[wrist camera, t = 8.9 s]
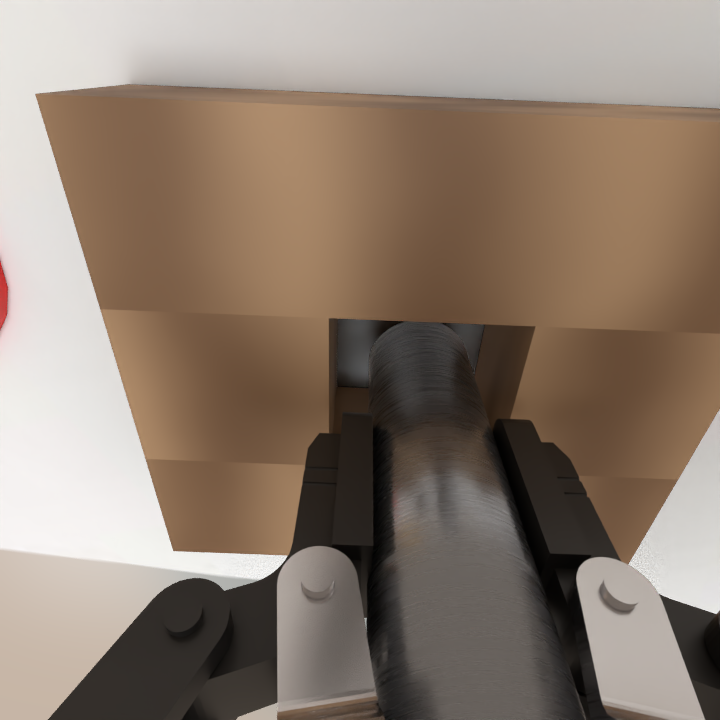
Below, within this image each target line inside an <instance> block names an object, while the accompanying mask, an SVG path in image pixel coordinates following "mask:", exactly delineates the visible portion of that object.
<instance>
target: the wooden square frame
mask: <svg viewBox="0 0 720 720" xmlns="http://www.w3.org/2000/svg"><path fill="white" fill-rule="evenodd" d="M36 98H37V101H38V104H39V108H40V111H41V114H42V118H43V121H44V124H45V128H46V131H47V134H48V137H49V141H50V144H51V147H52V151H53V154H54V157H55V161H56V164H57V167H58V171H59V174H60V177H61V180H62V184H63V187H64V190H65V194H66V197H67V200H68V204H69V207H70V210H71V214H72V217H73V220H74V224H75V227H76V230H77V233H78V237H79V240H80V243H81V247H82V250H83V253H84V257H85V260H86V263H87V267H88V270H89V273H90V276H91V280H92V283H93V286H94V290H95V293H96V296H97V300H98V303H99V306H100V310H101V313H102V316H103V319H104V323H105V326H106V329H107V333H108V336H109V339H110V343H111V346H112V349H113V353H114V356H115V359H116V363H117V366H118V369H119V372H120V376H121V379H122V382H123V386H124V389H125V392H126V396H127V399H128V402H129V406H130V409H131V412H132V415H133V419H134V422H135V425H136V429H137V432H138V435H139V439H140V442H141V445H142V449H143V452H144V455H145V458H146V462H147V465H148V468H149V472H150V475H151V478H152V482H153V485H154V488H155V492H156V495H157V498H158V502H159V505H160V508H161V511H162V515H163V518H164V521H165V525H166V528H167V531H168V535H169V538H170V541H171V545H172V548H173V551H187V552H213V553H240V554H266V555H289V552H290V550H291V547H292V543H293V537H294V531H295V525H296V518H297V512H298V506H299V500H300V494H301V488H302V481H303V475H304V470H305V463H306V457H307V451H308V447H309V446H310V445H311V443H312V442H313V441H314V439H315V438H316V437H317V435H318V434H319V433H334V434H341V424H342V413H343V412H356V413H368V402H369V388H351V387H337V347H338V319H361V320H386V321H411V322H436V323H461V324H485V328H484V332H483V337H482V342H481V347H480V352H479V357H478V361H477V366H476V371H475V376H474V377H475V380H476V383H477V386H478V389H479V392H480V395H481V398H482V401H483V404H484V407H485V410H486V413H487V417H488V420H489V423H490V426H491V429H492V431H493V427H494V424H495V421H496V420H497V419H499V418H500V419H525V420H531V421H532V423H533V424H534V426H535V429H536V431H537V433H538V435H539V438H540V440H541V442H553V443H554V444H555V445H556V446H557V447H558V448H559V449H560V450H561V451H562V452H563V453H564V454H566V455H567V456H568V457H569V458H570V460H571V462H572V464H573V466H574V468H575V470H576V472H577V474H578V476H579V481H581V482H582V484H583V486H584V488H585V490H586V492H587V497H589V498H590V500H591V502H592V504H593V506H594V508H595V510H596V512H597V514H598V516H599V518H600V520H601V522H602V524H603V526H604V528H605V530H606V532H607V534H608V536H609V538H610V540H611V542H612V544H613V546H614V548H615V550H616V552H617V554H618V556H619V558H620V560H621V561H622V562H624V563H626V564H629V562H630V560H631V559H632V557H633V555H634V554H635V552H636V550H637V549H638V547H639V545H640V543H641V542H642V540H643V538H644V537H645V535H646V533H647V532H648V530H649V528H650V526H651V525H652V523H653V521H654V520H655V518H656V516H657V514H658V513H659V511H660V509H661V508H662V506H663V504H664V503H665V501H666V499H667V497H668V496H669V494H670V492H671V491H672V489H673V487H674V486H675V484H676V482H677V480H678V479H679V477H680V475H681V474H682V472H683V470H684V469H685V467H686V465H687V463H688V462H689V460H690V458H691V457H692V455H693V453H694V451H695V450H696V448H697V446H698V445H699V443H700V441H701V440H702V438H703V436H704V434H705V433H706V431H707V429H708V428H709V426H710V424H711V423H712V421H713V419H714V417H715V416H716V414H717V412H718V411H719V409H720V109H713V108H689V107H665V106H640V105H616V104H592V103H567V102H543V101H519V100H495V99H470V98H446V97H422V96H397V95H373V94H349V93H324V92H300V91H276V90H252V89H227V88H203V87H179V86H154V85H130V84H128V85H118V86H109V87H99V88H89V89H79V90H70V91H60V92H50V93H40V94H36Z"/></svg>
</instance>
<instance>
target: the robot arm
mask: <svg viewBox="0 0 720 720" xmlns="http://www.w3.org/2000/svg"><path fill="white" fill-rule="evenodd" d="M492 432H493V435H494V438H495V441H496V444H497V447H498V450H499V453H500V456H501V459H502V462H503V466H504V469H505V472H506V475H507V478H508V481H509V484H510V487H511V490H512V493H513V496H514V499H515V502H516V505H517V508H518V512H519V515H520V518H521V521H522V524H523V527H524V530H525V533H526V536H527V539H528V542H529V545H530V548H531V551H532V554H533V558H534V561H535V564H536V567H537V570H538V573H539V576H540V579H541V582H542V585H543V588H544V591H545V594H546V597H547V600H548V603H549V607H550V610H551V613H552V616H553V619H554V622H555V625H556V628H557V631H558V634H559V637H560V640H561V643H562V646H563V649H564V653H565V656H566V659H567V662H568V665H569V668H570V671H571V674H572V677H573V680H574V683H575V686H576V689H577V692H578V695H579V698H580V702H581V705H582V708H583V711H584V714H585V717H586V720H720V611H719V612H718V613H717V614H714V613H711V612H708V611H705V610H702V609H699V608H696V607H693V606H690V605H687V604H684V603H681V602H678V601H675V600H672V599H669V598H667V597H664V596H662V595H660V594H658V592H657V591H656V589H655V587H654V586H653V585H652V584H651V583H650V581H649V580H648V579H647V578H646V577H645V576H644V575H642V574H641V573H640V572H639V571H637V570H636V569H634V568H633V567H631V566H629V565H628V564H626V563H624V562H622V561H621V560H620V558H619V556H618V554H617V552H616V550H615V548H614V546H613V544H612V542H611V540H610V538H609V536H608V534H607V532H606V530H605V528H604V526H603V524H602V522H601V520H600V518H599V516H598V514H597V512H596V510H595V508H594V506H593V504H592V502H591V500H590V498H589V497H587V492H586V490H585V488H584V486H583V484H582V482H581V481H579V476H578V474H577V472H576V470H575V468H574V466H573V464H572V462H571V460H570V458H569V457H568V456H567V455H566V454H564V453H563V452H562V451H561V450H560V449H559V448H558V447H557V446H556V445H555V444H554V443H553V442H541V440H540V438H539V435H538V433H537V431H536V429H535V426H534V424H533V423H532V421H531V420H525V419H500V418H499V419H497V420H496V421H495V424H494V427H493V431H492ZM372 558H373V413H356V412H343V413H342V424H341V434H334V433H319V434H318V435H317V437H316V438H315V439H314V441H313V442H312V443H311V445H310V446H309V447H308V451H307V457H306V463H305V470H304V475H303V481H302V488H301V494H300V500H299V506H298V512H297V518H296V525H295V531H294V537H293V543H292V547H291V550H290V552H289V555H288V557H287V558H286V560H285V561H284V562H283V564H282V565H281V566H280V567H279V568H278V569H277V570H276V571H275V572H273V573H272V574H270V575H269V576H267V577H266V578H264V579H262V580H259V581H257V582H254V583H250V584H247V585H243V586H240V587H237V588H233V589H229V590H226V591H224V590H223V589H222V588H221V587H220V586H219V585H217V584H216V583H214V582H212V581H210V580H207V579H201V578H192V579H186V580H182V581H179V582H177V583H174V584H172V585H171V586H169V587H167V588H165V589H164V590H163V591H162V592H160V593H159V594H158V595H157V596H156V597H155V598H154V599H153V600H152V601H151V602H150V603H149V604H148V606H147V607H146V608H145V609H144V610H143V611H142V612H141V614H140V615H139V616H138V617H137V618H136V619H135V620H134V622H133V623H132V624H131V625H130V626H129V627H128V628H127V630H126V631H125V632H124V633H123V634H122V635H121V636H120V638H119V639H118V640H117V641H116V642H115V643H114V644H113V646H112V647H111V648H110V649H109V650H108V651H107V653H106V654H105V655H104V656H103V657H102V658H101V659H100V661H99V662H98V663H97V664H96V665H95V666H94V667H93V669H92V670H91V671H90V672H89V673H88V674H87V676H86V677H85V678H84V679H83V680H82V681H81V682H80V684H79V685H78V686H77V687H76V688H75V689H74V690H73V692H72V693H71V694H70V695H69V696H68V697H67V699H66V700H65V701H64V702H63V703H62V704H61V705H60V706H59V708H58V709H57V710H56V711H55V712H54V713H53V714H52V716H51V717H50V718H49V719H48V720H236V719H237V717H239V716H242V715H244V714H247V713H250V712H253V711H255V710H258V709H261V708H263V707H266V706H269V705H272V704H275V703H277V702H278V711H277V720H385V718H384V714H383V711H382V709H381V708H380V706H379V703H378V699H377V695H376V689H375V683H374V677H373V670H372V664H371V658H370V652H369V645H368V639H367V633H366V627H365V620H364V618H367V582H368V578H369V575H370V573H371V570H372Z"/></svg>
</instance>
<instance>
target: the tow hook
mask: <svg viewBox="0 0 720 720" xmlns="http://www.w3.org/2000/svg"><path fill="white" fill-rule="evenodd" d="M7 297H8V287H7V283H6V280H5V276H4V273H3V269H2V265H1V262H0V329H1V327H2V325H3V323H4V320H5V318H6V316H7Z"/></svg>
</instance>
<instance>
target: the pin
mask: <svg viewBox="0 0 720 720" xmlns="http://www.w3.org/2000/svg"><path fill="white" fill-rule="evenodd" d="M368 413H373V558H372V570H371V573H370V575H369V578H368V582H367V639H368V645H369V652H370V658H371V664H372V670H373V677H374V683H375V689H376V695H377V699H378V703H379V706H380V708H381V709H382V711H383V714H384V718H385V720H586V717H585V714H584V711H583V708H582V705H581V702H580V698H579V695H578V692H577V689H576V686H575V683H574V680H573V677H572V674H571V671H570V668H569V665H568V662H567V659H566V656H565V653H564V649H563V646H562V643H561V640H560V637H559V634H558V631H557V628H556V625H555V622H554V619H553V616H552V613H551V610H550V607H549V603H548V600H547V597H546V594H545V591H544V588H543V585H542V582H541V579H540V576H539V573H538V570H537V567H536V564H535V561H534V558H533V554H532V551H531V548H530V545H529V542H528V539H527V536H526V533H525V530H524V527H523V524H522V521H521V518H520V515H519V512H518V508H517V505H516V502H515V499H514V496H513V493H512V490H511V487H510V484H509V481H508V478H507V475H506V472H505V469H504V466H503V462H502V459H501V456H500V453H499V450H498V447H497V444H496V441H495V438H494V435H493V432H492V429H491V426H490V423H489V420H488V417H487V413H486V410H485V407H484V404H483V401H482V398H481V395H480V392H479V389H478V386H477V383H476V380H475V377H474V374H473V371H472V367H471V364H470V361H469V358H468V355H467V352H466V349H465V346H464V344H463V342H462V340H461V339H460V337H459V336H458V335H457V334H456V333H455V332H454V331H453V330H452V329H450V328H449V327H447V326H445V325H443V324H441V323H436V322H411V321H405V322H402V323H399V324H397V325H395V326H393V327H391V328H389V329H388V330H386V331H385V332H384V333H383V334H382V335H381V336H380V337H379V338H378V339H377V340H376V342H375V343H374V345H373V347H372V349H371V352H370V356H369V402H368Z"/></svg>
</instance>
